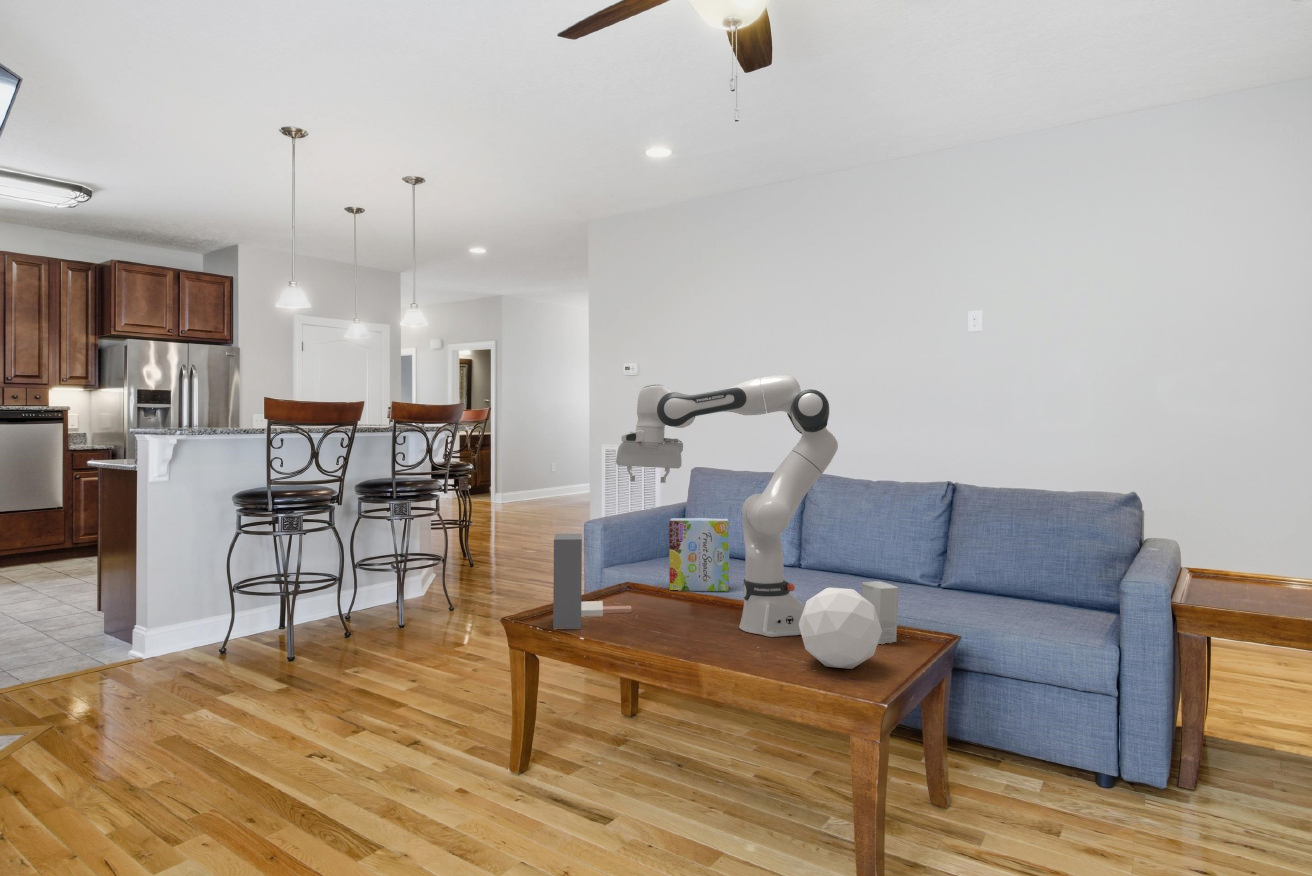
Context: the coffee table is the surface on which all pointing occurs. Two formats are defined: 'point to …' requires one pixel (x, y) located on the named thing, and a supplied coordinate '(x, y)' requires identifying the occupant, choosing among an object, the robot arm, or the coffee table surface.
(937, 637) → the coffee table surface
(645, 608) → the coffee table surface
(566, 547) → the carton
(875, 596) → the skincare box
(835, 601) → the geometric sculpture
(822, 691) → the coffee table surface
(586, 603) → the lid
